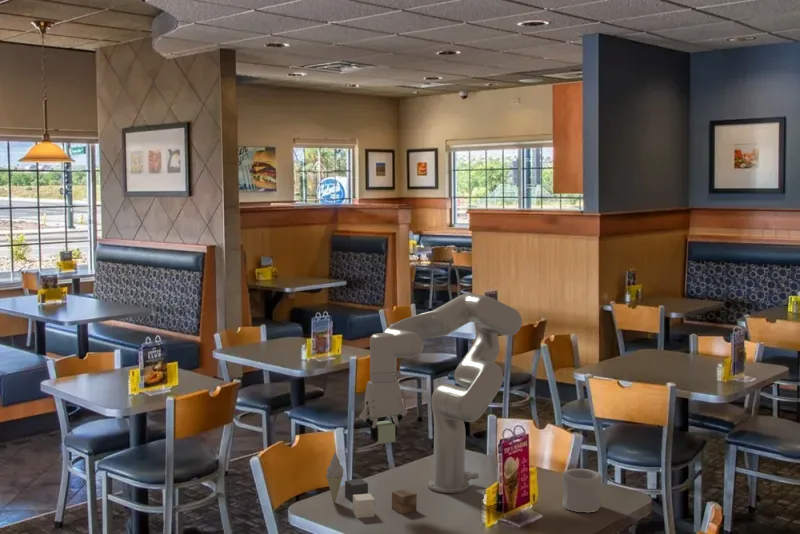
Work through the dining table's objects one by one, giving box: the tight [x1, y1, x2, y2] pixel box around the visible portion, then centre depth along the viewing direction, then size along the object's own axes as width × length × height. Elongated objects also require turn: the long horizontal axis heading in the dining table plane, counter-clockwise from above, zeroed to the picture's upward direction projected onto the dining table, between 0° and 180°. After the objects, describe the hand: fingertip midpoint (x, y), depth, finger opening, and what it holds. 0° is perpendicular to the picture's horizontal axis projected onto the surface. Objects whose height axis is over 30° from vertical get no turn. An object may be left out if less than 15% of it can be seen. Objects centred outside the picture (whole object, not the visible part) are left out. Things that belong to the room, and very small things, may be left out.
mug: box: [561, 468, 602, 512], centre depth 257 cm, size 14×11×10 cm
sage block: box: [376, 420, 396, 444], centre depth 255 cm, size 5×5×5 cm
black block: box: [344, 478, 369, 503], centre depth 261 cm, size 5×5×5 cm
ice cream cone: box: [325, 451, 344, 504], centre depth 256 cm, size 5×5×15 cm
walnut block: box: [391, 488, 418, 515], centre depth 252 cm, size 5×5×5 cm
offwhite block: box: [352, 493, 376, 519], centre depth 248 cm, size 5×5×5 cm
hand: (383, 438), depth 255 cm, fingers closed on sage block, 5 cm apart
